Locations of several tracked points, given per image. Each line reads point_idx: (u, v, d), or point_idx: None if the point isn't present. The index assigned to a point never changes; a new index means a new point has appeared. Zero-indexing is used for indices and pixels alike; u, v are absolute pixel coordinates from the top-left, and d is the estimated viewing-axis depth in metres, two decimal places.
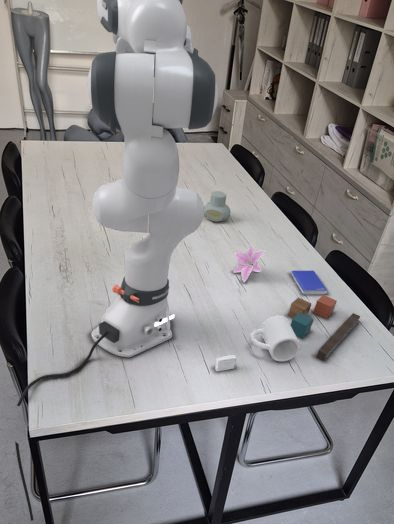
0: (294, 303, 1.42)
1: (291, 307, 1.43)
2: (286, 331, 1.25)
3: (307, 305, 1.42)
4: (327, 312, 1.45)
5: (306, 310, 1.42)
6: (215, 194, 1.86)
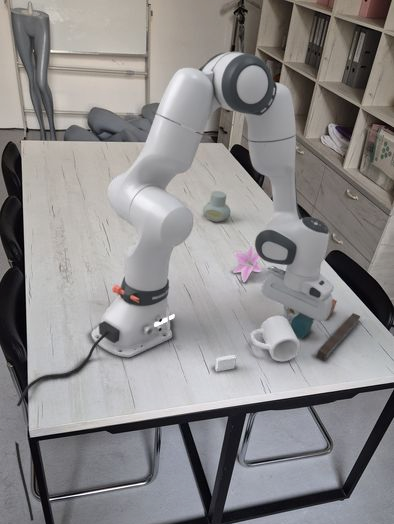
0: None
1: None
2: (286, 331, 1.25)
3: None
4: None
5: None
6: (215, 194, 1.86)
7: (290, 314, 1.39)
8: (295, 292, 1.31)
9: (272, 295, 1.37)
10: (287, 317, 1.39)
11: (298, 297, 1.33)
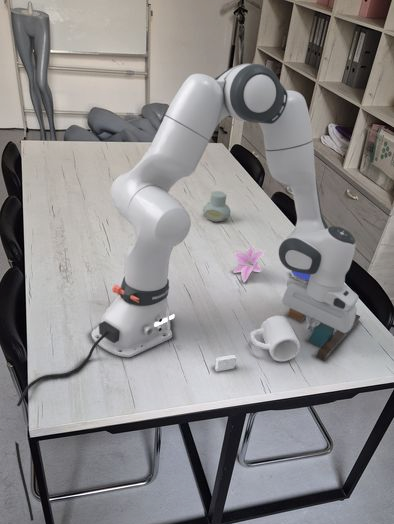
0: None
1: None
2: (286, 331, 1.25)
3: None
4: None
5: None
6: (215, 194, 1.86)
7: (312, 324, 1.36)
8: (318, 302, 1.28)
9: (294, 305, 1.34)
10: (309, 327, 1.36)
11: (321, 307, 1.30)
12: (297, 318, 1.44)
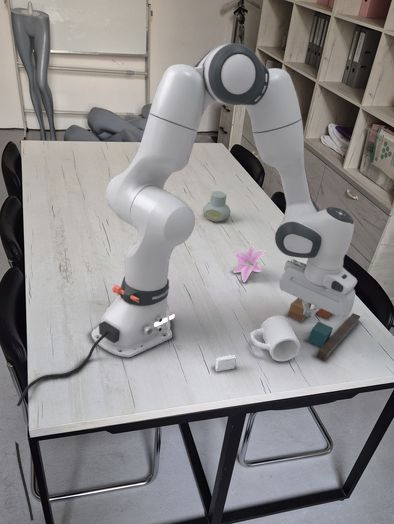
0: (294, 303, 1.42)
1: (291, 307, 1.43)
2: (286, 331, 1.25)
3: None
4: (327, 312, 1.45)
5: None
6: (215, 194, 1.86)
7: (309, 310, 1.33)
8: (316, 286, 1.25)
9: (291, 289, 1.31)
10: (306, 313, 1.33)
11: (319, 291, 1.27)
12: (297, 318, 1.44)
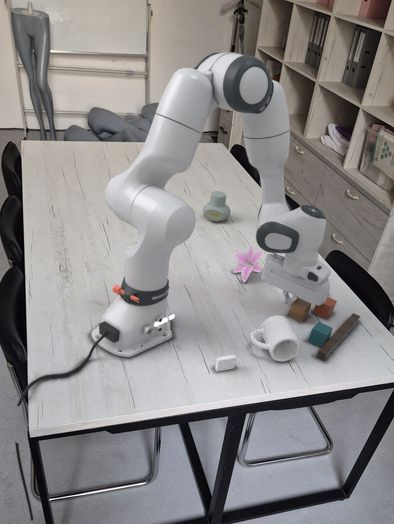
0: (294, 303, 1.42)
1: (291, 307, 1.43)
2: (286, 331, 1.25)
3: (307, 305, 1.42)
4: (327, 312, 1.45)
5: (306, 310, 1.42)
6: (215, 194, 1.86)
7: (289, 299, 1.45)
8: (294, 277, 1.37)
9: (272, 280, 1.43)
10: (286, 302, 1.45)
11: (297, 282, 1.39)
12: (297, 318, 1.44)
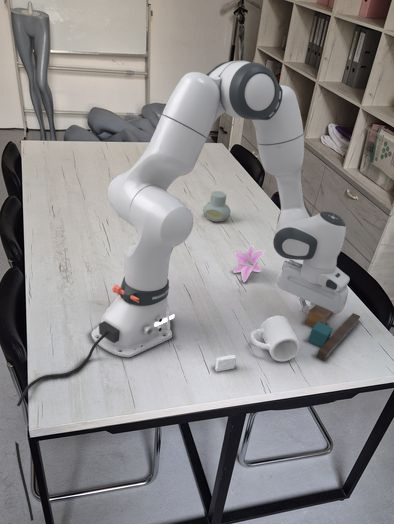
0: (312, 311, 1.40)
1: (308, 315, 1.41)
2: (286, 331, 1.25)
3: (325, 313, 1.40)
4: None
5: (324, 318, 1.40)
6: (215, 194, 1.86)
7: (306, 306, 1.43)
8: (312, 284, 1.35)
9: (288, 288, 1.41)
10: (303, 309, 1.43)
11: (314, 289, 1.37)
12: None
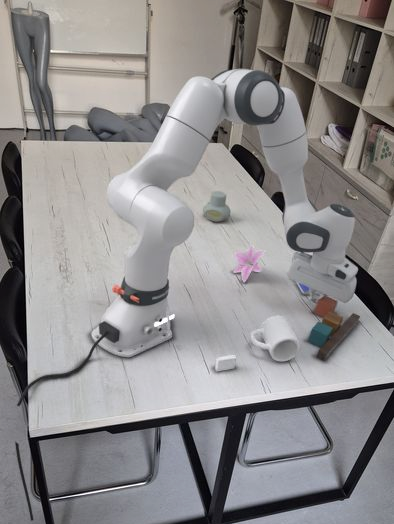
0: (326, 318, 1.38)
1: (323, 322, 1.39)
2: (286, 331, 1.25)
3: (339, 319, 1.38)
4: None
5: (339, 325, 1.38)
6: (215, 194, 1.86)
7: (315, 296, 1.47)
8: (321, 275, 1.39)
9: (298, 278, 1.46)
10: (312, 299, 1.48)
11: (324, 279, 1.41)
12: None
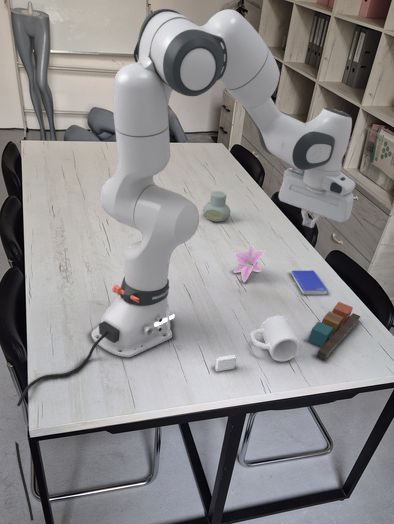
0: (326, 318, 1.38)
1: (323, 322, 1.39)
2: (286, 331, 1.25)
3: (339, 319, 1.38)
4: (344, 319, 1.43)
5: (339, 325, 1.38)
6: (215, 194, 1.86)
7: (308, 219, 1.35)
8: (315, 190, 1.26)
9: (290, 199, 1.33)
10: (305, 222, 1.35)
11: (318, 197, 1.28)
12: None
